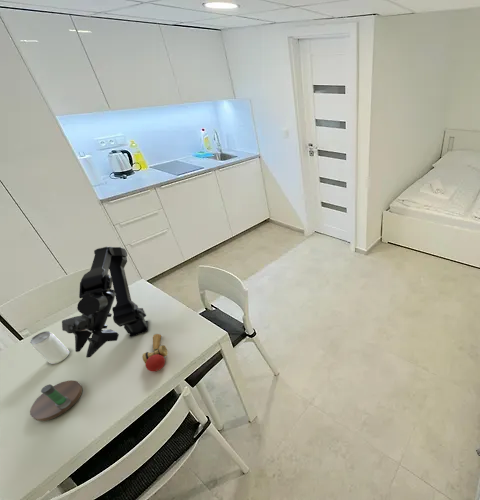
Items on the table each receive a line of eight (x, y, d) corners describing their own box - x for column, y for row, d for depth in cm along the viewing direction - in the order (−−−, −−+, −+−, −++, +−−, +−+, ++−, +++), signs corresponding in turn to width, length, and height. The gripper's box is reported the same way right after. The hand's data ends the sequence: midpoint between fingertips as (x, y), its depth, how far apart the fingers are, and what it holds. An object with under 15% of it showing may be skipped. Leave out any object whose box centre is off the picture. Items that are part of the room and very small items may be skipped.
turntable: (24, 411, 94) (-1, 393, 88) (68, 377, 104) (49, 359, 97) (47, 427, 90) (23, 410, 83) (91, 390, 100) (72, 372, 93)
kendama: (146, 346, 117) (143, 378, 103) (143, 334, 115) (139, 365, 100) (168, 341, 121) (168, 371, 107) (166, 329, 118) (165, 358, 104)
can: (57, 365, 109) (37, 346, 102) (44, 362, 110) (23, 343, 103) (74, 351, 114) (56, 331, 107) (61, 348, 115) (42, 329, 108)
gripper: (54, 301, 95) (36, 348, 93) (90, 317, 89) (71, 368, 87) (92, 302, 105) (76, 344, 103) (126, 316, 99) (110, 362, 97)
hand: (82, 354), depth 97 cm, fingers open, 6 cm apart
